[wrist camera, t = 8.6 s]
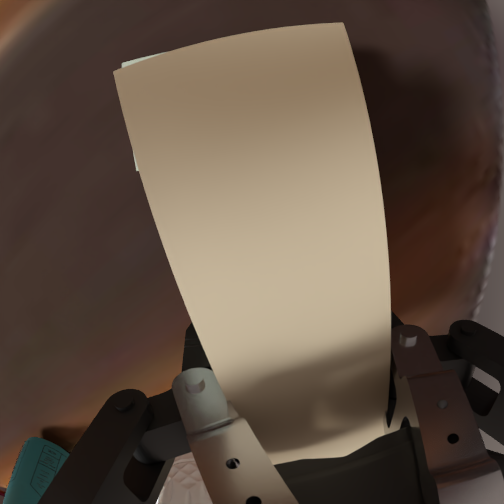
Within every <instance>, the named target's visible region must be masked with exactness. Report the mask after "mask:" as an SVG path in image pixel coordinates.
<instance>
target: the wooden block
mask: <svg viewBox="0 0 504 504" xmlns="http://www.w3.org/2000/svg"><path fill="white" fill-rule="evenodd" d="M113 73H114V77H115V82H116V86H117V90H118V95H119V99H120V103H121V107H122V111H123V115H124V119H125V122H126V126H127V130H128V134H129V137H130V141H131V145H132V148H133V152H134V155H135V159H136V162H137V166H138V169H139V172H140V176H141V179H142V182H143V186H144V189H145V192H146V195H147V198H148V201H149V205H150V208H151V211H152V214H153V217H154V220H155V223H156V226H157V229H158V232H159V235H160V238H161V240H162V243H163V246H164V249H165V252H166V255H167V257H168V260H169V263H170V266H171V268H172V271H173V274H174V276H175V279H176V282H177V284H178V287H179V290H180V292H181V295H182V297H183V300H184V303H185V305H186V308H187V310H188V313H189V315H190V318H191V320H192V323H193V325H194V328H195V330H196V332H197V335H198V337H199V340H200V342H201V344H202V347H203V349H204V351H205V354H206V356H207V358H208V361H209V363H210V365H211V367H212V370H213V372H214V374H215V376H216V379H217V381H218V383H219V385H220V387H221V390H222V392H223V394H224V396H225V398H226V400H227V401H229V400H230V401H231V403H232V404H233V406H234V408H235V410H236V412H237V413H238V415H239V417H244V418H245V420H246V421H247V423H248V425H249V426H250V428H251V430H252V431H253V433H254V435H255V436H256V438H257V440H258V441H259V443H260V444H261V446H262V448H263V449H264V451H265V453H266V454H267V456H268V457H269V459H270V461H271V462H272V464H273V465H275V464H280V463H285V462H290V461H295V460H300V459H316V458H335V457H344V456H347V455H349V454H351V453H352V452H354V451H356V450H358V449H359V448H361V447H363V446H365V445H366V444H368V443H370V442H371V441H373V440H374V439H376V438H378V437H381V436H383V435H385V433H384V426H383V417H384V413H385V411H386V410H388V397H389V382H390V359H391V297H390V274H389V258H388V244H387V233H386V223H385V214H384V205H383V197H382V190H381V183H380V176H379V169H378V163H377V157H376V151H375V146H374V140H373V135H372V130H371V125H370V120H369V116H368V111H367V107H366V102H365V98H364V94H363V90H362V86H361V82H360V78H359V74H358V70H357V67H356V63H355V59H354V56H353V52H352V49H351V46H350V42H349V39H348V36H347V33H346V30H345V27H344V24H343V23H325V24H311V25H300V26H290V27H282V28H274V29H267V30H261V31H255V32H249V33H244V34H238V35H233V36H228V37H224V38H219V39H215V40H210V41H206V42H202V43H198V44H194V45H191V46H187V47H183V48H180V49H177V50H173V51H170V52H167V53H163V54H160V55H157V56H154V57H151V58H148V59H145V60H142V61H140V62H137V63H134V64H131V65H129V66H126V67H123V68H121V69H118V70H116V71H113Z"/></svg>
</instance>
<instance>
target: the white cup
mask: <svg viewBox="0 0 504 504" xmlns="http://www.w3.org/2000/svg"><path fill="white" fill-rule="evenodd" d="M158 504H213V503H212V501H211V498H210V496H209V494H208V491H207V489H206V487H205V484H204V482H203V479H202V477H201V475H200V472H199V470H198V467H197V464H196V462H195V459H194V457H193V454H192V452H190V453H187V454H184V455H181V456H178V457H175V461H174V463H173V465H172V467H171V470H170V472H169V474H168V477H167V479H166V481H165V483H164V486H163V488H162V490H161V492H160V495H159V499H158Z"/></svg>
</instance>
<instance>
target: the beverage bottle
mask: <svg viewBox="0 0 504 504" xmlns="http://www.w3.org/2000/svg"><path fill="white" fill-rule="evenodd" d="M22 447H23V448H22ZM22 447H21V448H22V449H21V450H22V451H21V453H20V455H19V457H18V458H17V459H18V460H17V459H16V460H17V461H16V465H15V466H14V468H13V469H14V470H13V472H12V475H11V476H12V477H10V478H11V479H10V482H9V483H8V484H9V485H8V488H7V491H6V494H5V498H4V501H3V504H37V503H38V502H39V500H40V499H41V497H42V495H43V494H44V492H45V491H46V489H47V488H48V486H49V485H50V483H51V482H52V480H53V479H54V477H55V476H56V474H57V473H58V471H59V470H60V468H61V467H62V465H63V464H64V462H65V461H66V459H67V458H68V456H69V455H70V454H69V453H68V452H66V451H65V450H64V449H62V448H61V447H59V446H58V445H56V444H54V443H52V442H50V441H47V440H45V439H42V438H38V437H31V438H29V439H28V440H27V441H25V444H24V446H23V445H22Z"/></svg>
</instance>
